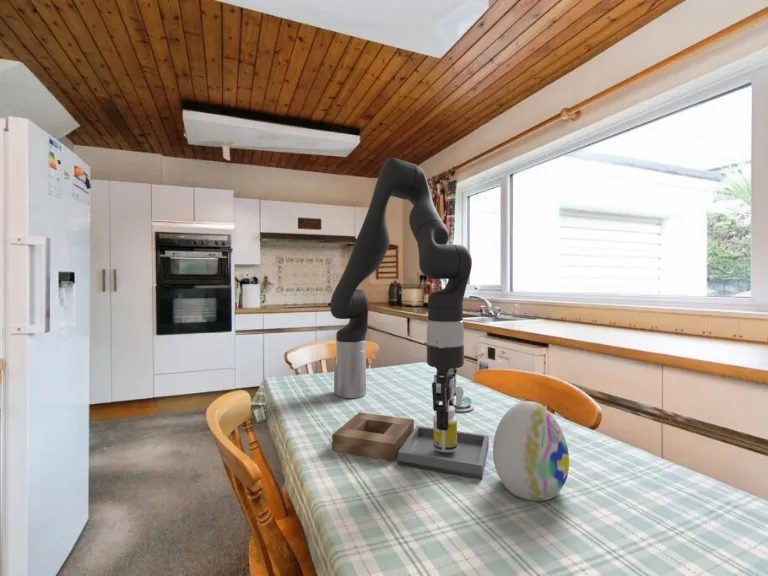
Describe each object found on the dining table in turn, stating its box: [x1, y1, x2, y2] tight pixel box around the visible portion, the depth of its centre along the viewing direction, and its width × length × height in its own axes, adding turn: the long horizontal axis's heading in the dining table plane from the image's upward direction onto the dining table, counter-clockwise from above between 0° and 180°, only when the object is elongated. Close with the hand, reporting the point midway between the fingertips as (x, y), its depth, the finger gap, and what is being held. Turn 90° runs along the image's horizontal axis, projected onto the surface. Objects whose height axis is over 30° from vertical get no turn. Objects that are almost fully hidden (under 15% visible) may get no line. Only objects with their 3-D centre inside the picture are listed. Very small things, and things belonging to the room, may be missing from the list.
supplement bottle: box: [433, 405, 458, 453], centre depth 77 cm, size 5×5×8 cm
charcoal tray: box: [397, 425, 490, 480], centre depth 77 cm, size 16×14×2 cm
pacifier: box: [453, 385, 475, 413], centre depth 105 cm, size 7×6×6 cm
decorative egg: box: [492, 400, 570, 502], centre depth 65 cm, size 12×12×15 cm
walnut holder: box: [331, 411, 415, 462], centre depth 83 cm, size 14×14×4 cm
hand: (445, 424), depth 77 cm, fingers open, 5 cm apart
